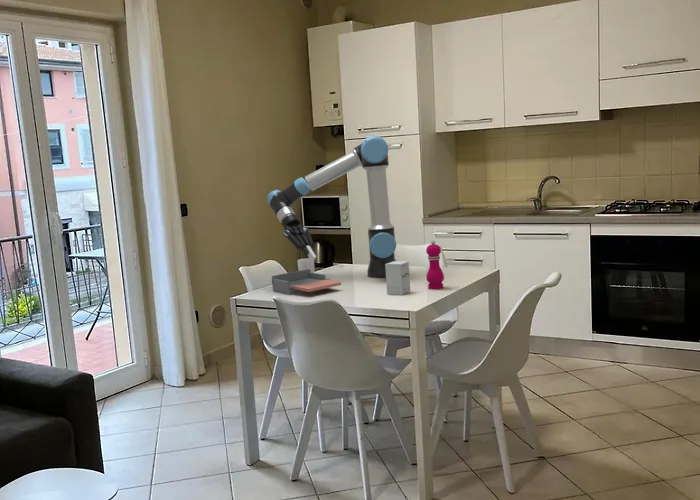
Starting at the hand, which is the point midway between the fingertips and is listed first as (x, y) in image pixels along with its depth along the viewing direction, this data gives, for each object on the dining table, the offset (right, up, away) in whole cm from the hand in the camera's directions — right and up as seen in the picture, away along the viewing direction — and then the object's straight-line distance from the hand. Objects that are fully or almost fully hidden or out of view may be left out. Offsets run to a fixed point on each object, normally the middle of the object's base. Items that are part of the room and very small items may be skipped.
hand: (313, 258), depth 300 cm
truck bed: (-6, -14, +12) cm, 19 cm away
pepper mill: (+51, -12, -9) cm, 53 cm away
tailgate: (-3, -11, +6) cm, 13 cm away
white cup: (-5, -11, +34) cm, 36 cm away
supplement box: (+35, -14, -12) cm, 40 cm away
